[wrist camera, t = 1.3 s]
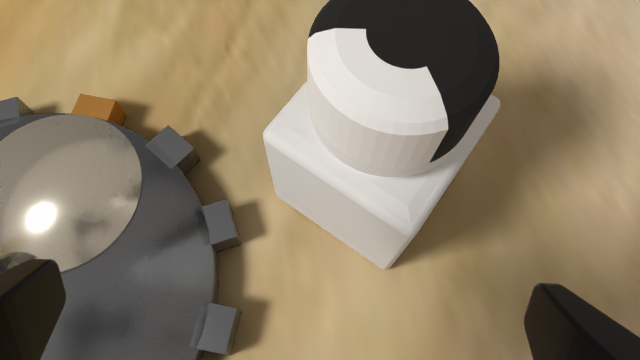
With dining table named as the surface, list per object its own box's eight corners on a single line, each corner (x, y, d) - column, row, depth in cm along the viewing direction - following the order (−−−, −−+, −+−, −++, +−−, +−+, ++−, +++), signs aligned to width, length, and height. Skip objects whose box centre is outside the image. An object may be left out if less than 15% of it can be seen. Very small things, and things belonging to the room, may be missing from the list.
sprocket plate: (329, 281, 23) (330, 275, 21) (-44, 684, 17) (-80, 716, 16) (81, 46, 28) (67, 27, 26) (-272, 298, 22) (-316, 293, 21)
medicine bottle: (348, 101, 27) (373, -86, 16) (456, 168, 25) (567, 13, 14) (272, 195, 25) (239, 55, 14) (385, 274, 23) (452, 190, 12)
